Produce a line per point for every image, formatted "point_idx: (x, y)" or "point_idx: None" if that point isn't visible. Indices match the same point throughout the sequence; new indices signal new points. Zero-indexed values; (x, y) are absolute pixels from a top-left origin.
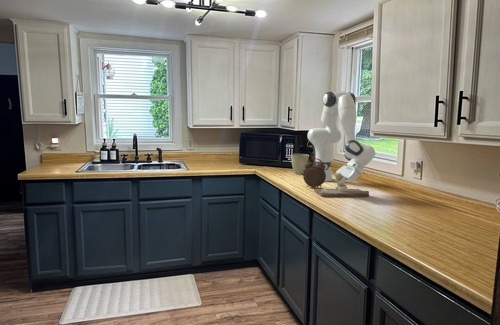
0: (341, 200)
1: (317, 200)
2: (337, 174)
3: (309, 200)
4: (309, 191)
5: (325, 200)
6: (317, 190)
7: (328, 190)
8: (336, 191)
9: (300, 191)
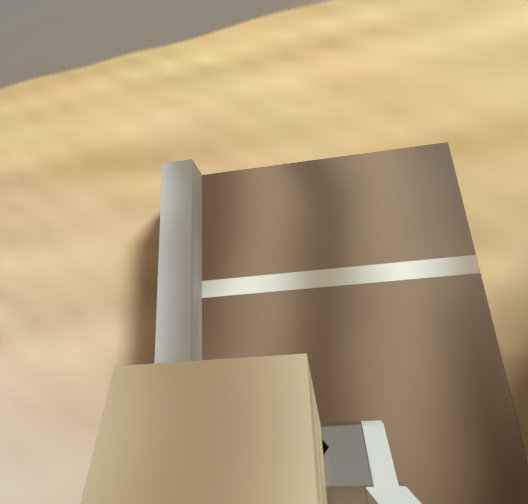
0: (23, 367)
1: (58, 134)
2: (111, 414)
3: (66, 76)
4: (445, 118)
5: (48, 200)
6: (336, 161)
7: (358, 308)
8: (157, 360)
9: (422, 35)
